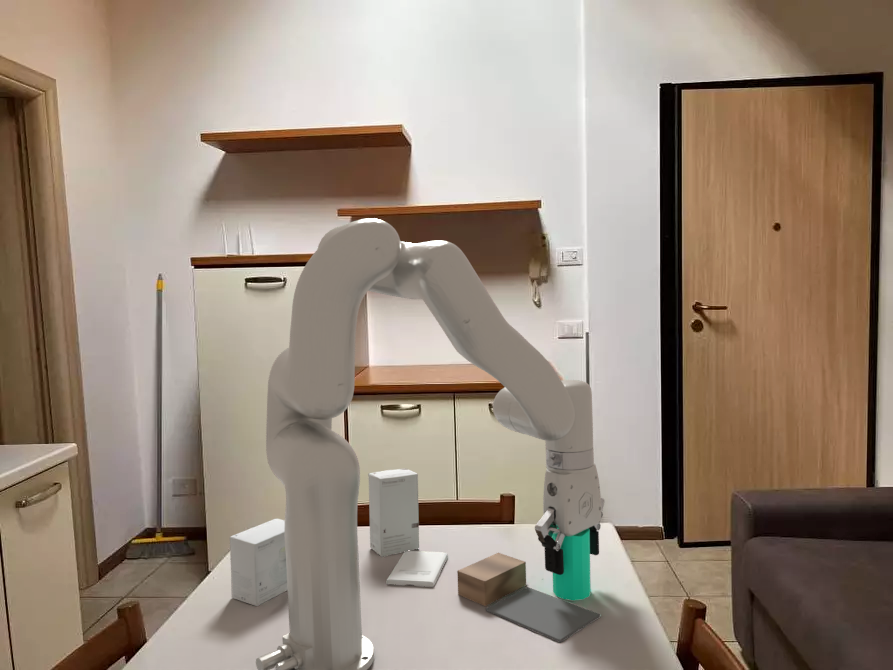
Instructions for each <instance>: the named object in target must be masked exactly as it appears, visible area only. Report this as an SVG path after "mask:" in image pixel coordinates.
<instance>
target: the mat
mask: <svg viewBox="0 0 893 670" xmlns="http://www.w3.org/2000/svg"><path fill="white" fill-rule="evenodd" d="M485 611H486V612H488V613H491V614H493V615H495V616H497V617H499V618H502V619H505V620H506V621H509V622H511V623H514V624H516V625H519V626H521V627H523V628H526V629H528V630H530V631H533V632H535V633H537V634H538V635H541V636H543V637H546V638H548V639H552V640H554V641H556V642H557V643H562V642H563V641H565V640H567V639H568V638H569V637H571V636H573V635H574V634H576V633H577V632H579V631H580V630H582V629H584V628H585V627H587V626H588V625H590V624H591V623H593V622H594V621H596V620H598V619H599V618H601V613H598V612H595V611H592V610H590V609H588V608H585V607H583V606H580V605H577V604H574V603H572V602H569V601H568V600H567V601H566V600H565V599H562V598H560V597H557V596H553V595H550V594H547V593H544V592H542V591H540V590H537V589H534V588H531V587H529V586H525V587H523V588H521V589H519V590H517V591H515V592H513V593H511V594H509V596H508V595H507V597H506V596H505V597H503V598H501V599H499V600H498V601H496V602H494V603H493V604H490V605H488V606H486V607H485Z"/></svg>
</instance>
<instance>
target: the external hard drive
mask: <svg viewBox="0 0 893 670" xmlns="http://www.w3.org/2000/svg"><path fill="white" fill-rule="evenodd" d="M448 557H449V555H448V552H442V551H427V550H425V551H422V550H410V551H405V552H403V554H402V556H401V557H400V558H399V560H398V562H396V565H395V566H394V568H393V570H392V571H391V573H390V575H389V576H388V577H387V579H386V585H387V584H394V585H393V586H405V585H406V586H413V585H414V586H413V587H423V588H424V586H425V587H426V588H428V587H429V588H434V587H435V585H436V583H437V581H438V579H439V576H440V574H441V573H440V572H442V571H441V570H443V569H442V568H444V567H445V565H444V564H446V563H445V562H447V561H448ZM443 566H444V567H443ZM395 584H396V585H395Z"/></svg>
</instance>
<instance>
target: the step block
mask: <svg viewBox="0 0 893 670" xmlns="http://www.w3.org/2000/svg"><path fill="white" fill-rule="evenodd" d="M526 567H527V565H526V561H524V560H521V559H518V558H516V557H513V556H509V555H507V554H503V553H501V552H496V553H494V554H492V555H490V556H488V557H486V558H483V559H481V560H478V561H477V562H476V561H475V562H474V563H472V564H470V565H467V566H465V567H463V568H461V569H458V570H457V571H456V572H457V574H456V575H457V595H458V596H460V597H462V598H465V599H467V600H469V601H472V602H473V603H476V604H479V605H482V606H484V607H488V606H490V605H492V603H493V604H494V603H496V602H498V601H500V600H502V599H504V598H506V596H508V595H511V594H513V593H515V592H517V591H519V590H521V589H523V588H525V587H527V568H526Z"/></svg>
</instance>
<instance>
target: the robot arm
mask: <svg viewBox="0 0 893 670" xmlns="http://www.w3.org/2000/svg"><path fill="white" fill-rule="evenodd" d="M368 291H369V292H372V293H377V294H380V295H386V296H391V297H394V298H395V297H397V298H402V299H407V300H408V299H409V300H422V301H423V302H424V304H425V305H426V307H427V308H428V310H429V311H430V312H431V314H432V315H433V317H434V319H435V320H436V322H437V323H438V325H439V326H440V327H441V329H442V330H443V332H444V334H445V336H446V337H447V339H448V341H449V342H450V343H451V344H452V346H453V348H454V349H455V350H456V352H457V353H458V354H459V355H460V356H461V357H462V358H464V359H465V360H467V362H470V364H472V365H474V366H476V367H477V369H478V368H479V369H480V370H482V371H484V372H486V373H487V374H488V375H490V376H491V377H493V378H494V379H496V380H497V381H498V382H499V383H500V384H501V385H502V386H503V388H502V389H500V390H499V391H498V392H497V394H496V395H495V397H494V399H493V402H492V411H493V415H494V418H495V419H496V421H497V422H498V423H499V424H500V425H502V427H504V428H505V429H508V430H510V431H512V432H513V431H514V432H516V433H520V434H523V435H526V436H529V437H532V438H535V439H539V440H542V441H544V442H545V445H544V446H545V467H546V469H545V475H544V481H543V483H544V484H543V496H542V497H543V498H542V499H543V501H542V506H543V507H542V513H543V514H542V516H541V518H540V519H539V520H538V521H537V522H536V524H535V526H534V530H535V533H536V535H537V540H538V542H539V543H541V546H542V547H543V548H544V569H545V570H546V571H547V572H550V573H552V574H553V573H556V574H558V575H562V574H563V573H564V561H563V549H560V547H561V545H562V542H563V539H564V537H565V535H566V536H573V535H576V534H578V533H580V532H582V531H584V530H586V529H588V528H589V529H590V555H591V556H592V555H593V556H598V555H600V536H599V531H600V529H601V524H600V522H601V520H602V518H603V515H604V514H603V509H604V505H605V499H604V498H603V497H602V496H601V488H600V480H599V475H598V469H597V465H596V463H595V461H594V456H595V454H594V452H595V451H594V427H593V424H594V423H593V391H592V387H591V385H590V384H588V382H586V381H583V380H577V379H561V378H560V376H559V374H558V373H557V372H556V370H555V369H554V367H553V366H552V365H551V363H550V362H549V361H548V360H547V358H545V356H544V355H543V354H542V353H541V352H540V351H539V350H538V349H537V348H536V347H535V346H533V345H532V344H531V343H530V342H529V341H528V340H527V339H526V338H525V337H524V336H523V335H522V334H521V333H520V332H519V330H517V329H516V328H514V327H513V326H512V325H511V324H510V323H509V322H508V321H507V320H506V318H505V317H504V316H503V314H502V312H501V311H500V310H499V307H498V305H496V303H495V301H494V300H493V298H492V296H491V295H490V292H488V290H487V288H486V286H485V285H484V283H483V282H482V280H481V278H480V277H479V276H478V274H477V272H476V271H475V269H474V267H473V266H472V264H471V262H470V261H469V259H468V258H467V256H466V254H465V253H464V251H462V249H461V248H460V247H459V246H458V245H456V244H455V243H452V242H450V241H447V240H430V241H423V242H418V243H412V242H407V241H406V242H405V241H401V239H400V235H399V233H398V231H397V230H396V228H395V227H393V225H392V224H390V223H388V222H387V221H384V220H382V219H378V218H369V217H368V218H361V219H358V220H354V221H351V222H348V223H346V224H342V225H339V226H337V227H333V228H331V229H330V230H329V231H327V232H326V233H325V234H323V237H321V240H319V243H318V246H317V249H316V251H314V253H313V254H312V256H311V257H310V259H308V261H307V262H306V264H305V266H304V267H303V269H302V271H301V273H300V275H299V278H298V281H297V283H296V286H295V289H294V294H293V299H292V306H291V321H290V329H289V342H288V343H289V346H288V347H287V348H286V349H284V350H283V351H282V352H280V353H279V355H278V356H277V357H276V358H275V360H274V362H273V364H272V366H271V367H270V372H269V375H268V381H267V397H266V399H267V400H266V427H265V428H266V429H265V430H266V431H265V432H266V433H265V434H266V435H265V448H266V449H265V452H266V459H267V463H268V467H269V468H270V470H271V471H272V473H273V474H274V475H275V477H276V478H277V479H278V481H280V483H281V484H282V485H283V486H284V488H285V513H284V520H285V526H284V531H285V554H286V569H287V589H288V590H287V603H288V605H287V606H288V609H287V610H288V625H289V626H288V627H289V632H288V633H286V634H283V635H282V644H281V645H278V646H277V648H276V650H274V651H271V652H268V653H266V654H263V655H261V656H259V657H257V658H256V659H255V666H256V669H257V670H272V669H274V668H275V670H368V669H370V667H371V666H372V664H373V663H374V660H375V648H374V644H373V642H372V641H371V640H370V639H369V638H368V637H366V636H364V635H363V631H362V629H363V627H362V626H363V625H362V612H361V611H362V607H361V606H362V605H361V603H362V602H361V582H360V578H361V577H360V560H359V559H360V558H359V557H360V556H359V542H358V541H359V539H358V538H359V537H358V503H359V493H360V485H361V484H360V483H361V467H360V463H359V458H358V456H357V454H356V451H355V449H354V447H352V445H351V444H350V443H349V442H348V440H347V439H345V438H344V437H343V436H342V435H340V434H339V433H337V432H336V431H334V430H332V428H333V427H332V426H333V423H332V422H333V419H334V418H337V417H338V416H340V415H342V414H343V413H345V411H346V410H347V409H348V408H349V406H350V404H351V402H352V400H353V398H354V391H355V377H356V376H355V370H356V368H355V367H356V340H357V337H356V336H357V323H358V315H359V312H360V311H359V310H360V307H361V304H362V301H363V300H364V298H365V296H366V294H367V293H368ZM557 528H559V529H557ZM553 533H554V534H558V535H557V537H556V540H554V539H553V538H552V535H553Z"/></svg>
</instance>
